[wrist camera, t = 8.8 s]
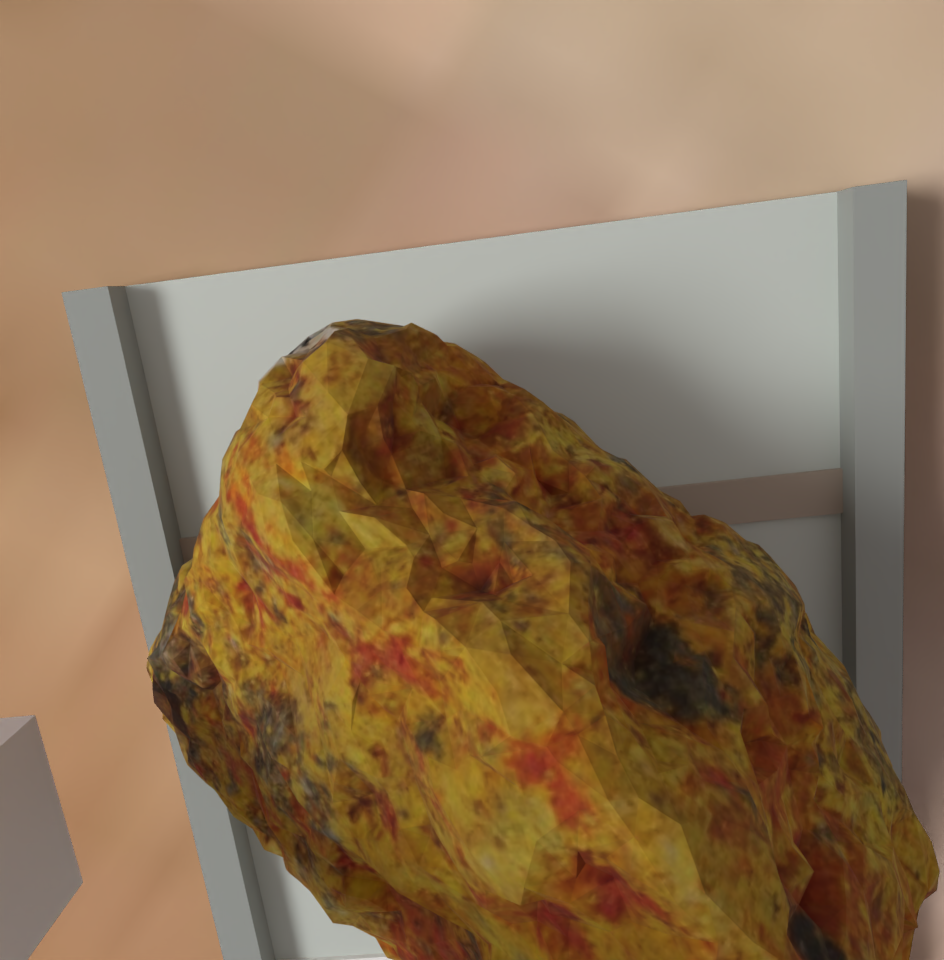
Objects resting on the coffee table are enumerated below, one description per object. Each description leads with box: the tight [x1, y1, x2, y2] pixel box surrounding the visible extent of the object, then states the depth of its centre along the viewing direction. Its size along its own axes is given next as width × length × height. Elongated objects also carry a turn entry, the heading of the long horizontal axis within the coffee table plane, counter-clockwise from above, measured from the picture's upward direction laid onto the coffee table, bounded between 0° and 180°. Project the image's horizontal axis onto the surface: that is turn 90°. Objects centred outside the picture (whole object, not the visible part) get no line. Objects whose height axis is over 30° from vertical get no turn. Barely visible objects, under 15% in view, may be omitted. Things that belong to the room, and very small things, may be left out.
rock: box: [147, 319, 939, 960], centre depth 12 cm, size 11×8×10 cm
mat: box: [62, 180, 907, 960], centre depth 15 cm, size 14×18×1 cm
